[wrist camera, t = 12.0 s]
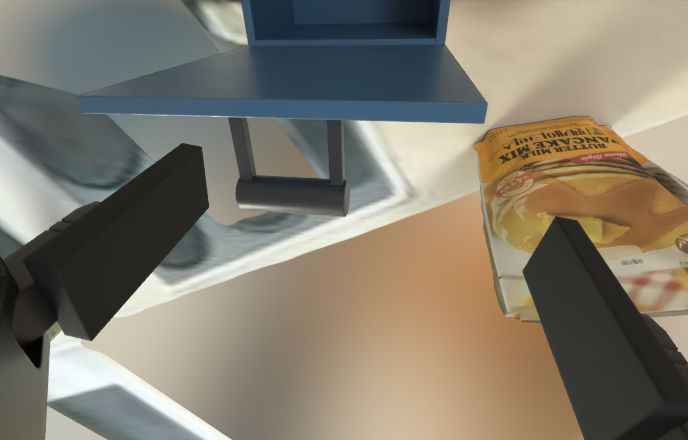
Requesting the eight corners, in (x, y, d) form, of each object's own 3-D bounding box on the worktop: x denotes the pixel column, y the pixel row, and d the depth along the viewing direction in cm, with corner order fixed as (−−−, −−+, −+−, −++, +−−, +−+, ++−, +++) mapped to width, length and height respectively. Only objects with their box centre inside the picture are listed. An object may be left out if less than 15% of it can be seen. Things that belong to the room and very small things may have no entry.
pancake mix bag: (614, 156, 46) (814, 333, 23) (462, 174, 50) (503, 334, 28) (625, 105, 42) (875, 255, 19) (461, 129, 47) (506, 272, 24)
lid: (74, 95, 15) (128, 223, 19) (488, 102, 13) (459, 249, 16) (246, 45, 32) (258, 120, 35) (445, 44, 29) (435, 124, 33)
